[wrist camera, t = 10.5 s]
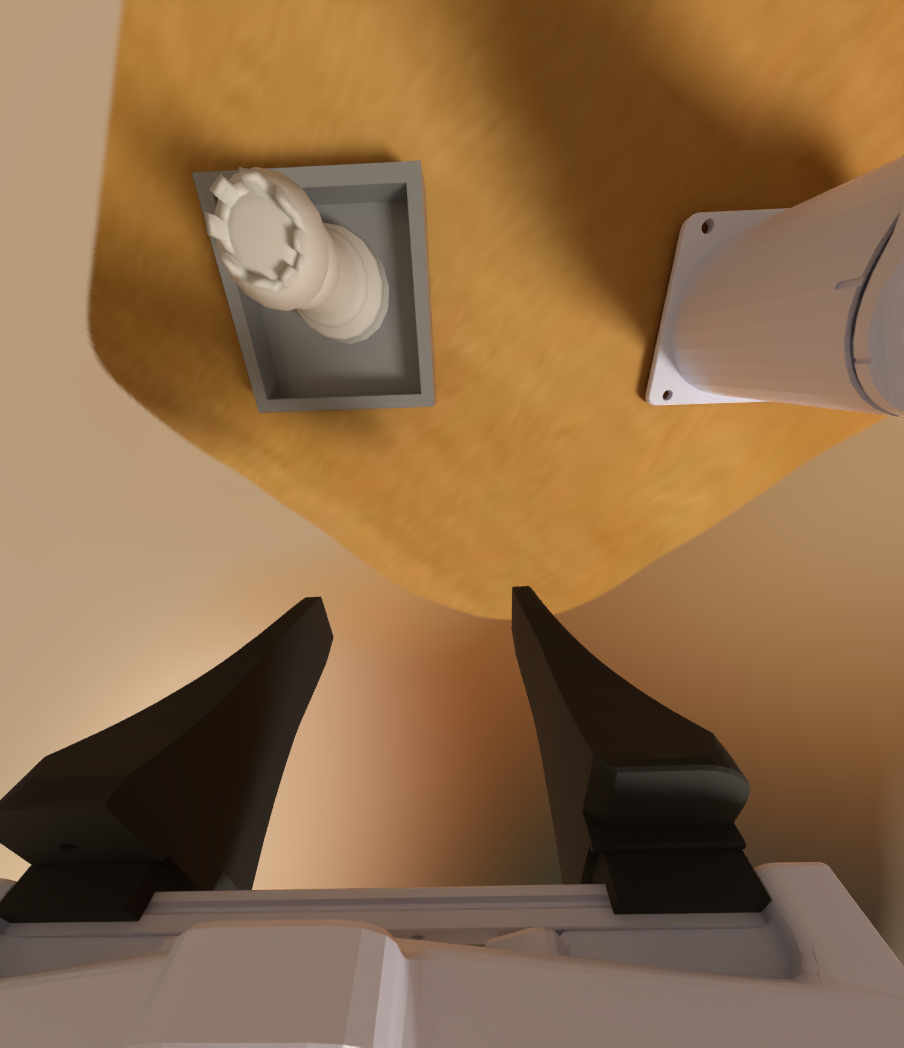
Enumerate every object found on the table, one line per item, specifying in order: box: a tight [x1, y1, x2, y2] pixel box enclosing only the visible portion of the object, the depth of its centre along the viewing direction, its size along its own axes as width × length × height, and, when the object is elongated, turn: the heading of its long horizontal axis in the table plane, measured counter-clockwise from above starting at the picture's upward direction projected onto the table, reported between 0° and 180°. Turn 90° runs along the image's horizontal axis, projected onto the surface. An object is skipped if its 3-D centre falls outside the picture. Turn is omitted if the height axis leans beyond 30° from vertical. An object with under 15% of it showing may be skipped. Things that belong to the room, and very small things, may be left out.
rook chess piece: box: [204, 167, 389, 344], centre depth 12 cm, size 4×4×8 cm
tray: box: [192, 161, 436, 413], centre depth 16 cm, size 9×9×2 cm
